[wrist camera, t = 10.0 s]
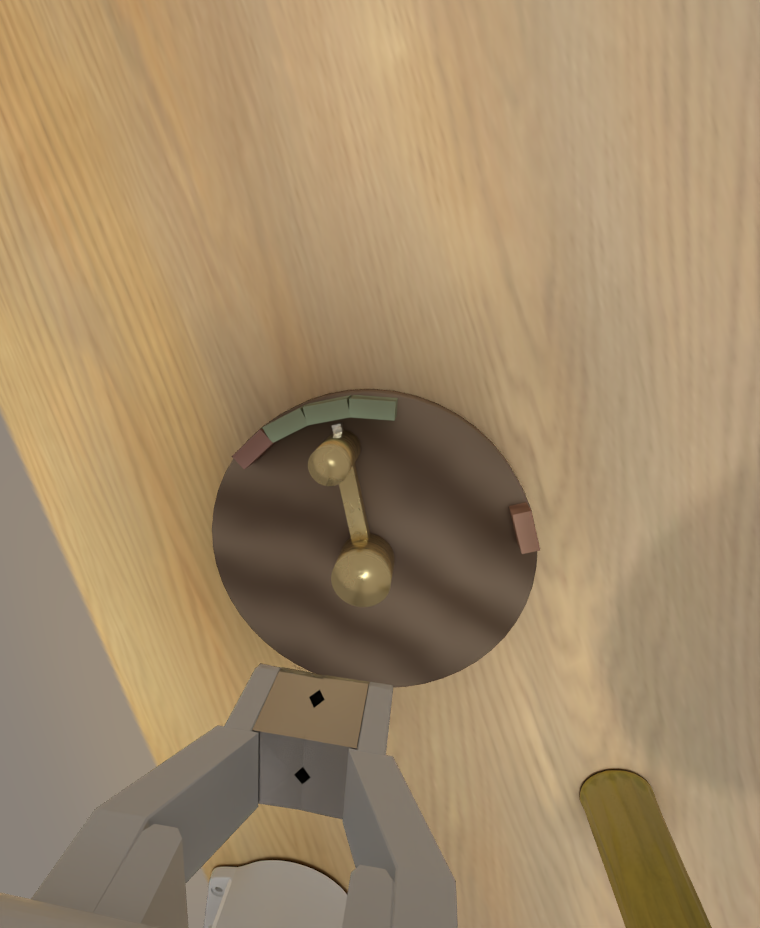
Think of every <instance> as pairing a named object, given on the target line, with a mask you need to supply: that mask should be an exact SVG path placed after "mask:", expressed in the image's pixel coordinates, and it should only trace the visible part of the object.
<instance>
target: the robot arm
mask: <svg viewBox="0 0 760 928" xmlns="http://www.w3.org/2000/svg"><path fill="white" fill-rule="evenodd" d="M392 693H393V686H392V685H388V684H382V683H375V682H370V684H369V682H368V681H361V680H354V679H348V678H341V677H335V676H328V675H326V676H325V675H320V674H315V673H310V672H304V671H299V670H294V669H289V668H283V667H282V668H280V667H275V666H270V665H265V664H259V665H258V666H257V667H256V668H255V670H254V672H253V673H252V675H251V677H250V679H249V681H248V683H247V685H246V687H245V688H244V690H243V692H242V694H241V696H240V698H239V700H238V702H237V704H236V705H235V707H234V709H233V711H232V713H231V715H230V717H229V719H228V720H227V722H226V724H225V726H218V725H217V726H216V727H214V728H213V729H211V730H210V731H208V732H207V733H206V734H204V735H203V736H201V737H200V738H198V739H197V740H195V741H194V742H192V743H191V744H189V745H188V746H187V747H185V748H184V749H182V750H181V751H179V752H178V753H176V754H175V755H173V756H172V757H170V758H169V759H167V760H166V761H165V762H163V763H162V764H160V765H159V766H157V767H156V768H154V769H153V770H151V771H150V772H148V773H147V774H145V775H144V776H143V777H141V778H140V779H138V780H137V781H135V782H134V783H132V784H131V785H129V786H128V787H126V788H125V789H123V790H122V791H121V792H119V793H118V794H116V795H115V796H113V797H112V798H111V799H109V800H107V801H106V802H104V803H103V804H102V805H100V806H99V807H97V808H96V809H95V810H94V811H93V813H92V814H91V816H90V817H89V819H88V820H87V821H86V823H85V824H84V825H83V827H82V828H81V830H80V831H79V832H78V834H77V835H76V837H75V838H74V839H73V841H72V842H71V844H70V845H69V846H68V848H67V849H66V851H65V852H64V854H63V855H62V856H61V858H60V859H59V860H58V862H57V863H56V865H55V866H54V867H53V869H52V870H51V872H50V873H49V874H48V876H47V877H46V879H45V880H44V881H43V883H42V884H41V886H40V887H39V888H38V890H37V891H36V893H35V894H34V895H33V897H32V898H31V899H27V898H23V897H18V896H13V895H9V894H5V893H0V928H188V915H187V903H186V888H185V883H187V882H188V881H189V879H190V878H191V877H192V876H193V875H194V874H195V873H196V872H197V871H198V870H199V869H200V868H201V867H202V866H203V865H204V864H205V862H206V861H207V860H208V859H209V858H210V857H211V856H212V855H213V854H214V853H215V852H216V851H217V850H218V849H219V848H220V847H221V846H222V844H223V843H224V842H225V841H226V840H227V839H228V838H229V837H230V836H231V835H232V834H233V833H234V832H235V831H236V830H237V829H238V828H239V826H240V825H241V824H242V823H243V822H244V821H245V820H246V819H247V818H248V817H249V816H250V815H251V814H252V813H253V812H254V811H255V810H256V808H257V807H258V803H259V804H266V805H272V806H279V807H285V808H291V809H298V810H303V811H308V812H312V813H317V814H321V815H325V816H330V817H334V818H339V819H343V825H344V829H345V832H346V836H347V839H348V843H349V846H350V850H351V853H352V857H353V860H354V864H355V867H356V869H355V870H353V871H352V872H351V876H350V882H349V888H348V894H346V893H345V891H344V890H343V889H342V888H341V887H340V886H339V885H338V884H337V883H335V882H334V881H333V880H331V879H330V878H329V877H327V876H325V875H324V874H322V873H320V872H318V871H316V870H314V869H312V868H309V867H307V866H304V865H300V864H297V863H293V862H287V861H279V860H266V861H258V862H254V863H251V864H248V865H245V866H241V867H217V868H214V869H213V871H212V874H211V878H210V881H209V888H208V896H207V904H206V912H205V920H204V928H458V923H457V899H456V881H455V879H454V877H453V875H452V873H451V871H450V869H449V867H448V865H447V863H446V861H445V859H444V857H443V855H442V853H441V851H440V849H439V847H438V845H437V843H436V841H435V839H434V837H433V835H432V833H431V831H430V829H429V827H428V825H427V823H426V821H425V819H424V817H423V815H422V813H421V811H420V809H419V807H418V805H417V803H416V801H415V799H414V797H413V795H412V793H411V791H410V789H409V787H408V785H407V783H406V781H405V779H404V777H403V775H402V773H401V771H400V769H399V767H398V765H397V763H396V762H395V760H394V758H393V756H389V755H386V747H387V738H388V729H389V720H390V711H391V702H392Z"/></svg>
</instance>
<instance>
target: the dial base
mask: <svg viewBox="0 0 760 928" xmlns="http://www.w3.org/2000/svg"><path fill="white" fill-rule="evenodd" d="M336 423H342V425H343V430H347V431H350V432H352V433H353V434H354V435H355V436H356V437H357V438H358V440H359V442H360V445H361V451H360V454H359V456H358V458H357V460H356V461H355V465H356V470H357V475H358V480H359V484H360V489H361V494H362V499H363V503H364V508H365V513H366V518H367V522H368V527H369V532H370V534H372V535H376V536H378V537H380V538H382V539H383V540H385V541H386V542H387V543H388V544H389V545H390V547H391V549H392V551H393V553H394V558H395V561H394V568H393V574H392V580H391V586H390V590H389V593H388V595H387V596H386V598H385V599H384V600H383V601H381V602H380V603H378V604H376V605H374V606H370V607H357V606H353V605H350V604H348V603H346V602H345V601H343V600H342V599H341V598H340V597H339V596H338V595H337V594H336V592H335V591H334V589H333V586H332V582H331V574H332V571H333V568H334V566H335V563H336V561H337V559H338V556H339V554H340V552H341V549H342V547H343V545H344V544H345V542H346V541H347V540H348V539H350V538H351V536H350V531H349V527H348V522H347V518H346V513H345V509H344V505H343V500H342V496H341V491H340V487H339V484H338V485H335V486H324V485H321V484H319V483H317V482H316V481H315V480H314V479H313V478H312V477H311V475H310V473H309V470H308V460H309V458H310V456H311V454H312V453H313V452H314V451H315V450H316V449H317V448H318V447H319V446H320V445H321V444H322V443H323V442H324V441H325V440H326V439H327V438H328V437H329V436H330V435H331V434H332V433H333V430H332V425H333V424H336ZM232 457H233V461H232V462H231V464H230V466H229V467H228V469H227V471H226V472H225V475H224V477H223V480H222V482H221V485H220V487H219V490H218V493H217V498H216V502H215V506H214V512H213V523H212V536H213V549H214V554H215V559H216V564H217V567H218V571H219V574H220V577H221V580H222V582H223V585H224V587H225V589H226V591H227V593H228V595H229V597H230V599H231V601H232V602H233V604H234V606H235V607H236V609H237V610H238V612H239V613H240V615H241V616H242V617H243V619H244V620H245V621H246V622H247V624H248V625H249V626H250V627H251V629H252V630H253V631H254V632H255V633H256V634H257V635H258V636H259V637H260V638H261V639H262V640H263V641H264V642H266V643H267V644H268V645H269V646H271V647H272V648H273V649H274V650H276V651H277V652H278V653H279V654H281V655H282V656H284V657H286V658H287V659H289V660H290V661H292V662H293V663H295V664H297V665H299V666H301V667H303V668H305V669H307V670H309V671H311V672H313V673H316V674H320V675H325V676H326V675H328V676H335V677H341V678H348V679H354V680H361V681H368V682H369V684H370V682H375V683H382V684H388V685H392V686H393V687H407V686H413V685H419V684H425V683H428V682H431V681H435V680H438V679H442V678H444V677H447V676H449V675H452V674H454V673H456V672H459V671H461V670H463V669H464V668H466V667H468V666H470V665H471V664H473V663H475V662H476V661H478V660H479V659H480V658H482V657H483V656H484V655H486V654H487V653H488V652H490V651H491V650H492V649H493V648H494V647H495V646H496V645H497V644H498V643H499V642H500V641H501V640H502V639H503V638H504V637H505V636H506V635H507V633H508V632H509V631H510V629H511V628H512V627H513V625H514V624H515V623H516V621H517V619H518V618H519V616H520V614H521V612H522V610H523V609H524V607H525V605H526V602H527V599H528V597H529V594H530V591H531V589H532V585H533V581H534V576H535V571H536V562H537V551H540V547H539V542H538V538H537V533H536V529H535V524H534V520H533V516H532V511H531V508H530V505H529V503H528V501H527V498H526V496H525V493H524V491H523V489H522V486H521V485H520V483H519V481H518V479H517V478H516V476H515V474H514V473H513V471H512V469H511V467H510V466H509V464H508V462H507V461H506V459H505V458H504V457H503V455H502V454H501V453H500V452H499V450H498V449H497V448H496V447H495V446H494V444H493V443H492V442H491V441H490V440H489V439H488V438H487V437H486V436H485V435H484V434H482V433H481V432H480V431H479V430H478V429H477V428H476V427H475V426H473V425H472V424H471V423H469V422H468V421H466V420H465V419H464V418H462V417H461V416H459V415H458V414H456V413H454V412H452V411H450V410H448V409H447V408H445V407H443V406H441V405H439V404H437V403H434V402H431V401H429V400H426V399H423V398H421V397H418V396H414V395H410V394H405V393H401V392H397V391H389V390H378V389H360V390H347V391H341V392H335V393H330V394H326V395H323V396H320V397H317V398H314V399H311V400H308V401H306V402H304V403H302V404H300V405H298V406H296V407H294V408H292V409H290V410H288V411H286V412H284V413H282V414H280V415H279V416H277V417H276V418H275V419H273V420H272V421H270V422H269V423H267V424H266V425H264V426H263V427H262V428H261V429H260V430H258V431H257V432H256V433H255V434H254V435H253V436H252V437H251V438H250V439H249V440H248V441H247V442H246V443H245V444H244V445H243V446H242V447H241V448H240V449H239V450H238V451H237V452H236V453H235V454H234V455H233V456H232Z"/></svg>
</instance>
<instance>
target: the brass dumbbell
mask: <svg viewBox="0 0 760 928" xmlns="http://www.w3.org/2000/svg"><path fill="white" fill-rule="evenodd" d="M332 430H333V433H332V434H331V435H330V436H329V437H328V438H327V439H326V440H325V441H324V442H323V443H322V444H321V445H320V446H319V447H318V448H317V449H316V450H315V451H314V452H313V453H312V454H311V456H310V458H309V460H308V470H309V473H310V475H311V477H312V478H313V479H314V480H315V481H316V482H317V483H319V484H321V485H324V486H335V485H338V484H339V487H340V491H341V496H342V500H343V505H344V509H345V513H346V518H347V522H348V527H349V531H350V536H351V538H350V539H348V540H347V541H346V542H345V544H344V545H343V547H342V549H341V552H340V554H339V556H338V559H337V561H336V563H335V566H334V568H333V571H332V574H331V582H332V586H333V589H334V591H335V592H336V594H337V595H338V596H339V597H340V598H341V599H342V600H343V601H345V602H346V603H348V604H350V605H353V606H357V607H370V606H374V605H376V604H378V603H380V602H381V601H383V600H384V599H385V598H386V596H387V595H388V593H389V590H390V586H391V580H392V574H393V568H394V561H395V558H394V553H393V551H392V549H391V547H390V545H389V544H388V543H387V542H386V541H385V540H383V539H382V538H380V537H378V536H376V535H372V534H370V532H369V527H368V522H367V518H366V513H365V508H364V503H363V499H362V494H361V489H360V484H359V480H358V475H357V470H356V465H355V461H356V460H357V458H358V456H359V454H360V451H361V445H360V442H359V440H358V438H357V437H356V436H355V435H354V434H353V433H352V432H350V431H347V430H343V425H342V423H336V424H333V425H332Z"/></svg>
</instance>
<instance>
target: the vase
mask: <svg viewBox="0 0 760 928" xmlns="http://www.w3.org/2000/svg"><path fill="white" fill-rule="evenodd" d="M580 801H581V804H582V806H583V808H584V810H585V813H586V815H587V818H588V821H589V824H590V827H591V830H592V833H593V836H594V839H595V842H596V844H597V847H598V850H599V853H600V856H601V858H602V861H603V864H604V867H605V870H606V872H607V875H608V878H609V881H610V884H611V887H612V890H613V892H614V895H615V898H616V901H617V904H618V907H619V909H620V912H621V915H622V918H623V921H624V924H625V927H626V928H712V927H711V925H710V923H709V920H708V918H707V916H706V914H705V911H704V909H703V907H702V904H701V902H700V900H699V898H698V895H697V893H696V891H695V889H694V886H693V884H692V882H691V880H690V878H689V876H688V873H687V871H686V869H685V867H684V864H683V862H682V860H681V857H680V855H679V853H678V851H677V848H676V846H675V843H674V841H673V839H672V837H671V835H670V832H669V830H668V828H667V825H666V823H665V821H664V818H663V816H662V814H661V811H660V809H659V806H658V804H657V801H656V798H655V795H654V792H653V790H652V788H651V786H650V785H649V784H648V782H647V781H645V780H644V779H643V778H642V777H640V776H638V775H636V774H634V773H631V772H628V771H623V770H607V771H603V772H600V773H597V774H595V775H593V776H591V777H590V778H589V779H587V780H586V782H585V783H584V784H583V786H582V788H581V791H580Z"/></svg>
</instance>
